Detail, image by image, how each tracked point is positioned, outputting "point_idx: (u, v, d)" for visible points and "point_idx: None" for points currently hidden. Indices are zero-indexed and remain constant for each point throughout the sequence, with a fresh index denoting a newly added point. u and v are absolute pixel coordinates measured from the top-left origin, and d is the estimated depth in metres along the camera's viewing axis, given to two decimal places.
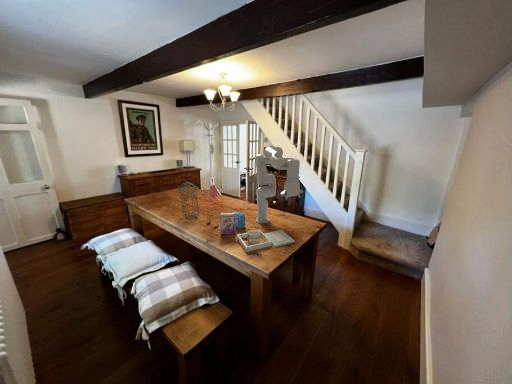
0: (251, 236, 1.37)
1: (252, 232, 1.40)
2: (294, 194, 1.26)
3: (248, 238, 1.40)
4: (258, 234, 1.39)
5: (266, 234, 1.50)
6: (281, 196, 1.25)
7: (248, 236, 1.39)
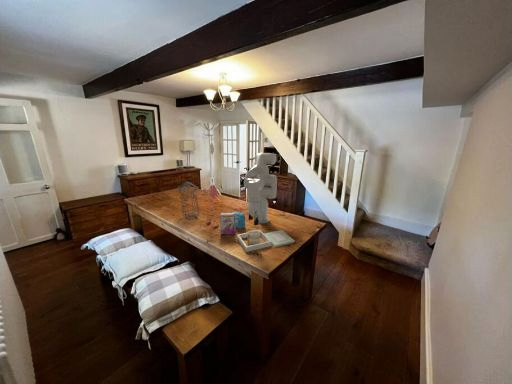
0: (251, 236, 1.37)
1: (252, 232, 1.40)
2: None
3: (248, 238, 1.40)
4: (258, 234, 1.39)
5: (266, 234, 1.50)
6: (257, 218, 1.29)
7: (248, 236, 1.39)
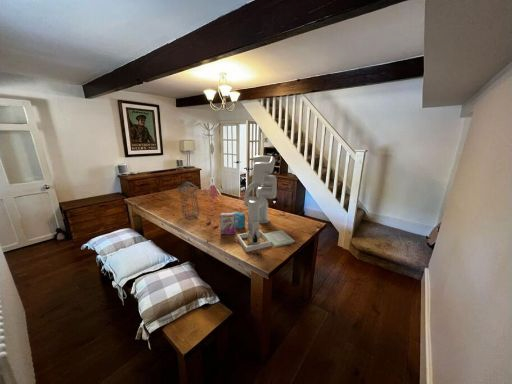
0: (251, 236, 1.37)
1: None
2: None
3: (248, 238, 1.40)
4: (258, 234, 1.39)
5: (266, 234, 1.50)
6: (256, 236, 1.35)
7: (248, 236, 1.39)
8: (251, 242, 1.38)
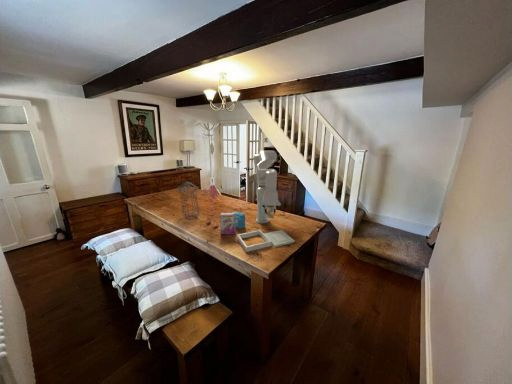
0: None
1: None
2: None
3: (270, 212, 1.35)
4: None
5: (266, 234, 1.50)
6: None
7: (270, 210, 1.34)
8: (273, 214, 1.37)
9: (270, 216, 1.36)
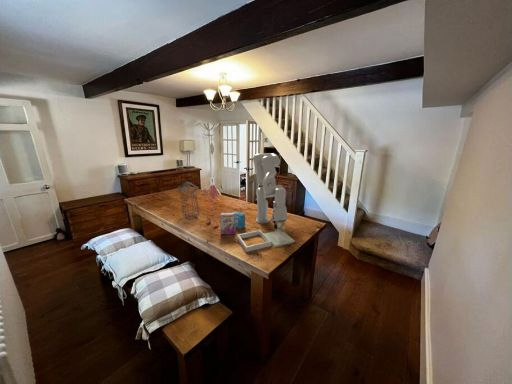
0: None
1: None
2: None
3: (281, 227, 1.40)
4: None
5: (266, 234, 1.50)
6: None
7: (281, 225, 1.40)
8: None
9: (281, 230, 1.41)
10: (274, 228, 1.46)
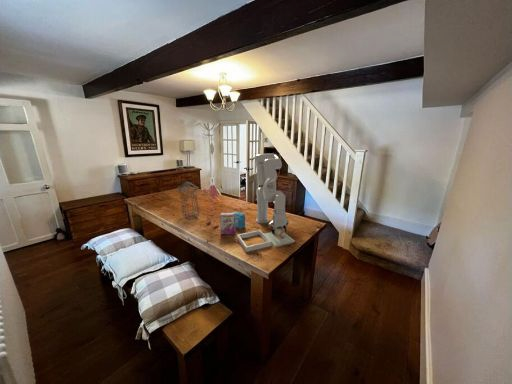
0: None
1: (279, 227, 1.43)
2: None
3: (281, 234, 1.42)
4: None
5: (266, 234, 1.50)
6: (288, 222, 1.46)
7: (281, 232, 1.41)
8: None
9: (281, 237, 1.43)
10: (274, 235, 1.47)
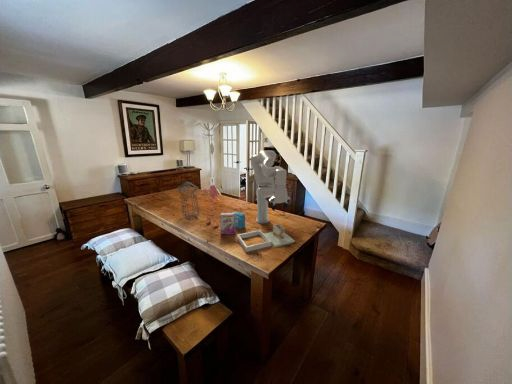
0: None
1: (279, 227, 1.43)
2: None
3: (281, 234, 1.42)
4: None
5: (266, 234, 1.50)
6: (289, 199, 1.44)
7: (281, 232, 1.41)
8: None
9: (281, 237, 1.43)
10: (274, 235, 1.47)
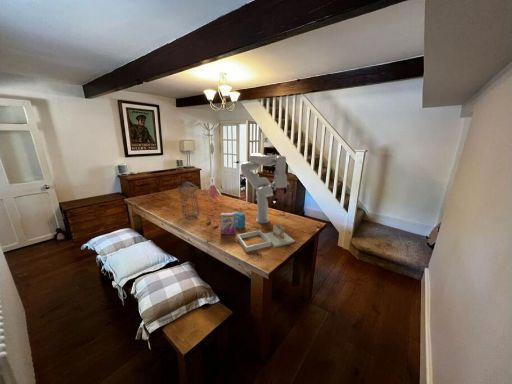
0: None
1: (279, 227, 1.43)
2: None
3: (281, 234, 1.42)
4: None
5: (266, 234, 1.50)
6: (288, 185, 1.55)
7: (281, 232, 1.41)
8: None
9: (281, 237, 1.43)
10: (274, 235, 1.47)
